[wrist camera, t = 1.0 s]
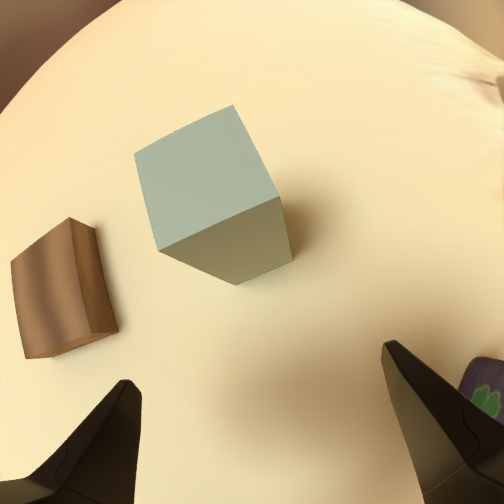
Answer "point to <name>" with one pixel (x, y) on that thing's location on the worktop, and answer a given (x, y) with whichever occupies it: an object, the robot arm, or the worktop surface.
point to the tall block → (214, 199)
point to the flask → (485, 386)
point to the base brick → (61, 292)
